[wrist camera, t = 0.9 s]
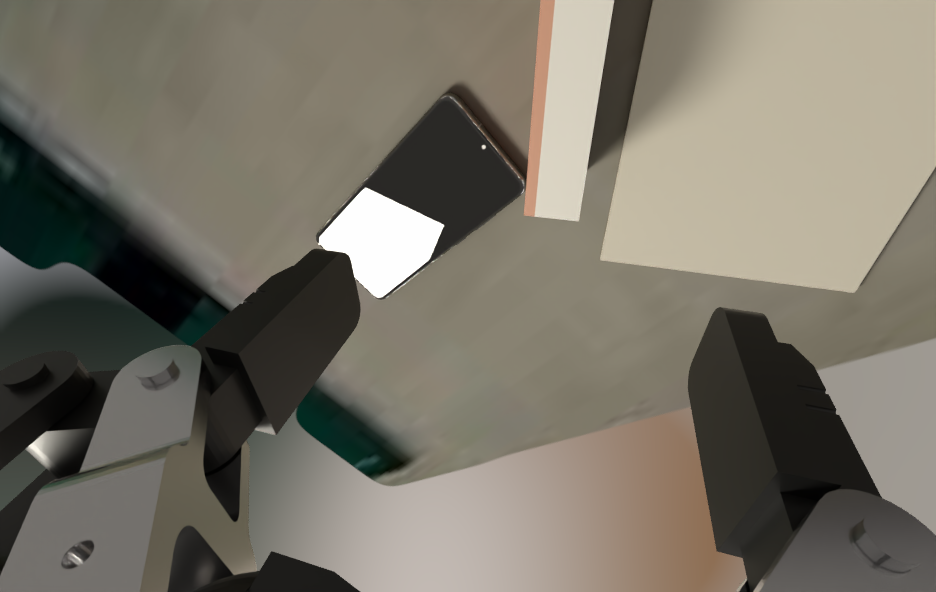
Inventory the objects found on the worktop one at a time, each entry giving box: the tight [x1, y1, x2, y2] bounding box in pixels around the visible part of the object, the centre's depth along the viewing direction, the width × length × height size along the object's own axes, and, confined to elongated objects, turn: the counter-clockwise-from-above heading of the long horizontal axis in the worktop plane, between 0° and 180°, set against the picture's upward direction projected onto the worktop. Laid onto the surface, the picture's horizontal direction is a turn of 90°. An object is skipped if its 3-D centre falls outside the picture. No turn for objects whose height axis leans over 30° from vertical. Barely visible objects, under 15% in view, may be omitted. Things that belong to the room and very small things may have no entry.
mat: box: [600, 0, 936, 293], centre depth 21 cm, size 17×14×1 cm
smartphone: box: [316, 93, 527, 300], centre depth 29 cm, size 7×1×16 cm
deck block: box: [524, 0, 614, 221], centre depth 19 cm, size 10×2×7 cm, turn 1°
